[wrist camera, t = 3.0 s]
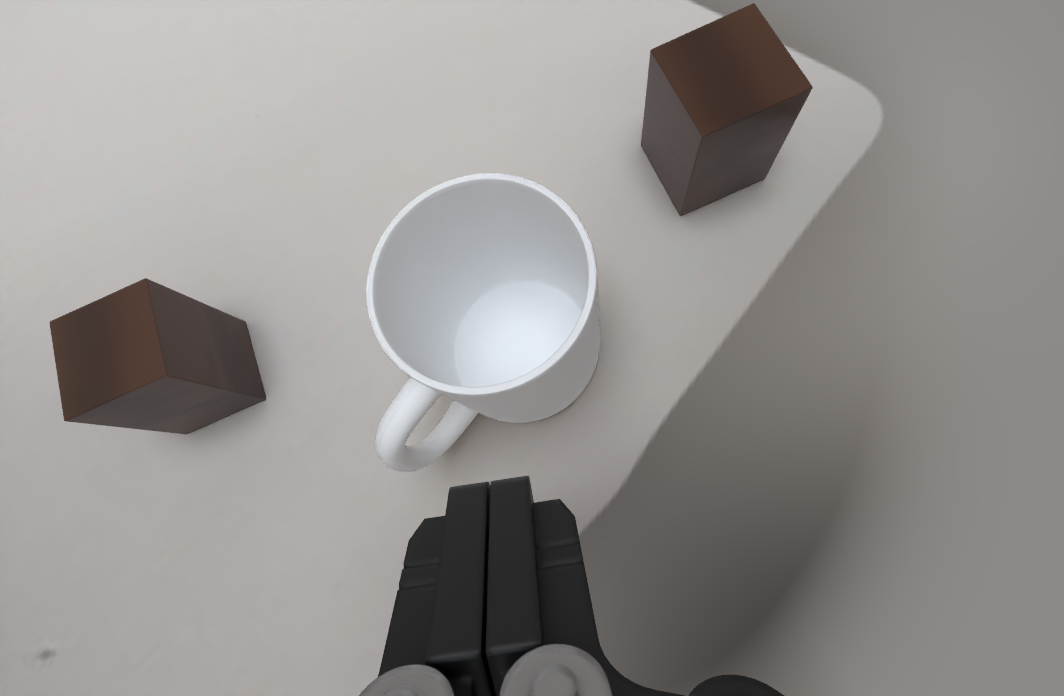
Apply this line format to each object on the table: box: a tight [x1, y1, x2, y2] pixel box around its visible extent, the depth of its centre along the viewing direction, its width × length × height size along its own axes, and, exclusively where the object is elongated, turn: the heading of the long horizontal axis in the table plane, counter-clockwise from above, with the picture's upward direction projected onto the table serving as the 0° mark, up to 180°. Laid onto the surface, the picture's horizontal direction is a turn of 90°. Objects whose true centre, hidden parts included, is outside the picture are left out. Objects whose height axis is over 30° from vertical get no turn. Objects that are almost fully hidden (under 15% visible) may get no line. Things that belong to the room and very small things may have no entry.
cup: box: [366, 173, 600, 472], centre depth 23 cm, size 8×12×10 cm
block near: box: [641, 4, 812, 215], centre depth 26 cm, size 5×5×7 cm
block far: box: [50, 279, 266, 434], centre depth 27 cm, size 5×5×7 cm
